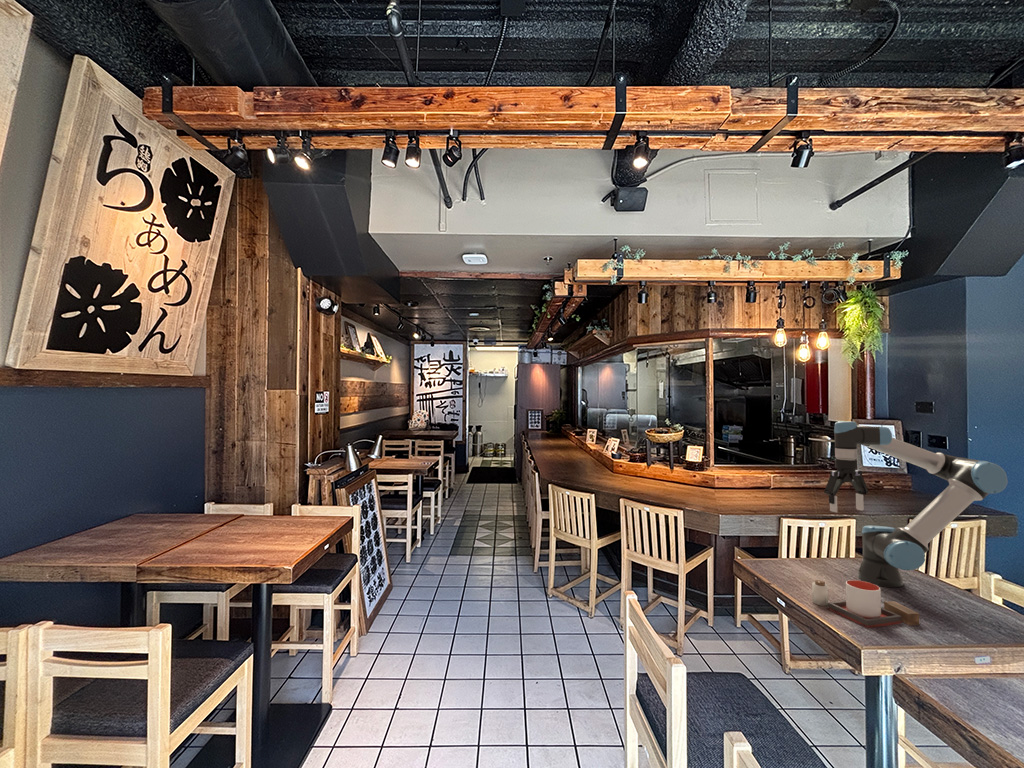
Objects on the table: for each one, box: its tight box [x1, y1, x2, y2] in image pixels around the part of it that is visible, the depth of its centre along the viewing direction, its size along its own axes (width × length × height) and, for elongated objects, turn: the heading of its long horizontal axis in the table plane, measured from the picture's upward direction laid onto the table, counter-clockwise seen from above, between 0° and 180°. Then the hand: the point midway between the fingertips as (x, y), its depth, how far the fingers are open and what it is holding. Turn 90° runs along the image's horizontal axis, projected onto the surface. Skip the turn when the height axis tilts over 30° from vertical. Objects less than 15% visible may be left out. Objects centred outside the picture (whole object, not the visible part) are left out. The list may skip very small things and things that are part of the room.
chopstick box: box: [883, 600, 920, 626], centre depth 167 cm, size 4×10×4 cm, turn 2°
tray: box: [827, 599, 903, 629], centre depth 169 cm, size 15×15×2 cm
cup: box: [845, 579, 882, 619], centre depth 169 cm, size 10×10×10 cm
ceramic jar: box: [811, 579, 829, 607], centre depth 179 cm, size 5×5×8 cm
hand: (846, 510), depth 194 cm, fingers open, 13 cm apart
